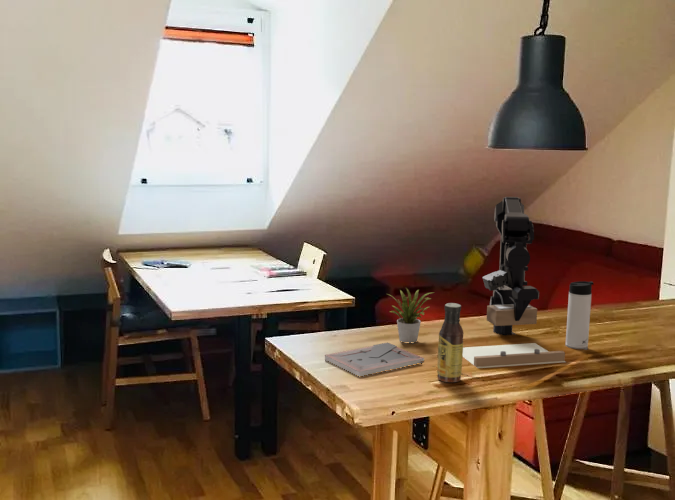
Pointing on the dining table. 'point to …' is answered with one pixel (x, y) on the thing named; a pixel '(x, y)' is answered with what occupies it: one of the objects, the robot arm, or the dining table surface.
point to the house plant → (409, 317)
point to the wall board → (511, 355)
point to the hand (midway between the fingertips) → (511, 317)
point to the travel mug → (578, 314)
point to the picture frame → (373, 359)
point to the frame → (510, 315)
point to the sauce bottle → (450, 345)
